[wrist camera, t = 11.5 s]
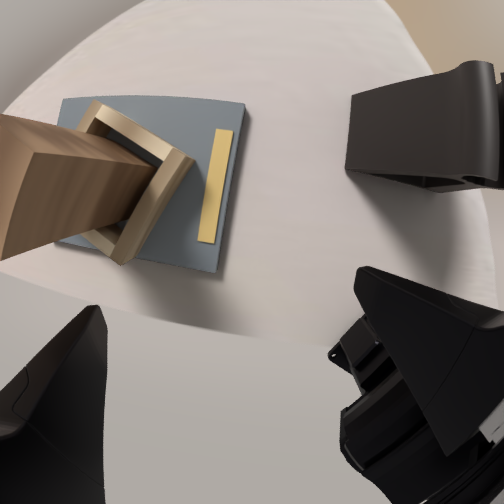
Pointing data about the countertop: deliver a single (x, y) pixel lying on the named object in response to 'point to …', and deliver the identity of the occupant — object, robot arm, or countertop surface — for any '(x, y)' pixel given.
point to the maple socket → (157, 193)
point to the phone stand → (432, 130)
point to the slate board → (196, 180)
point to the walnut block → (62, 183)
